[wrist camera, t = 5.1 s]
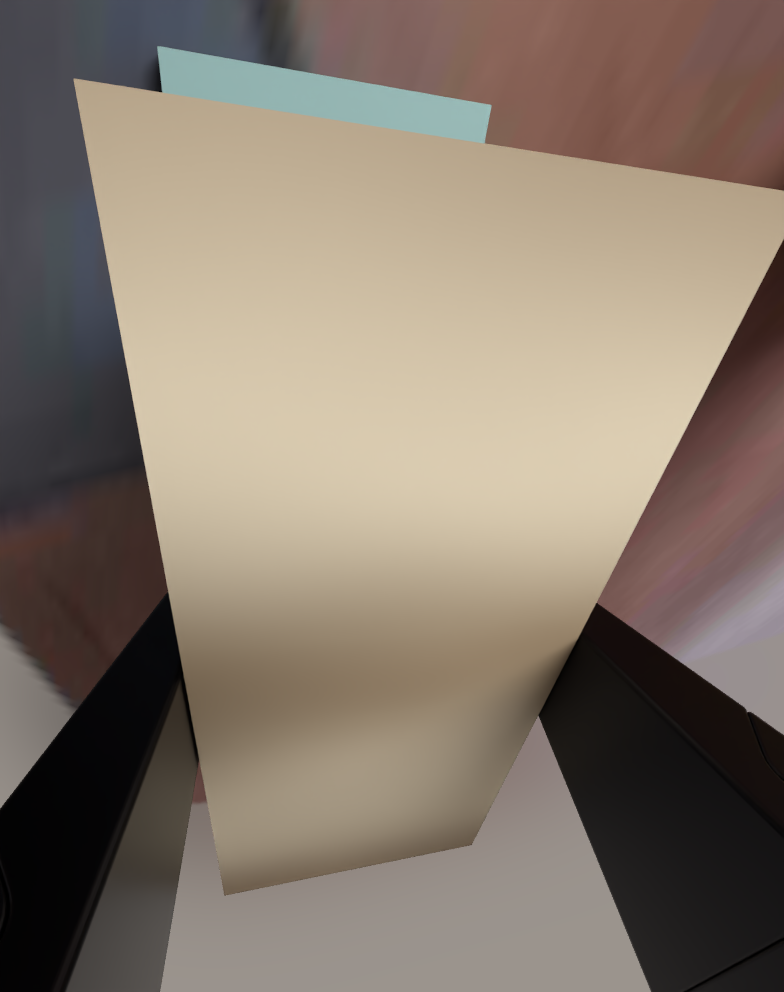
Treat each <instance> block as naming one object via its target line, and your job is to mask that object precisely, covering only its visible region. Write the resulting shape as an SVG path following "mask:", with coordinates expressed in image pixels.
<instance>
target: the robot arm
mask: <svg viewBox="0 0 784 992" xmlns="http://www.w3.org/2000/svg"><path fill="white" fill-rule="evenodd" d="M538 716H539V718H540V720H541V723H542V725H543V728H544V730H545V733H546V735H547V738H548V740H549V743H550V745H551V747H552V750H553V752H554V755H555V757H556V759H557V762H558V765H559V767H560V770H561V772H562V774H563V777H564V779H565V781H566V784H567V787H568V789H569V792H570V794H571V796H572V799H573V801H574V804H575V806H576V809H577V811H578V814H579V816H580V818H581V821H582V823H583V826H584V828H585V831H586V833H587V836H588V838H589V840H590V843H591V845H592V848H593V850H594V853H595V855H596V857H597V860H598V863H599V865H600V868H601V870H602V872H603V875H604V877H605V880H606V882H607V885H608V887H609V890H610V892H611V894H612V897H613V899H614V902H615V904H616V907H617V909H618V912H619V914H620V916H621V919H622V921H623V924H624V926H625V929H626V931H627V934H628V936H629V939H630V941H631V944H632V946H633V948H634V951H635V953H636V956H637V958H638V961H639V963H640V966H641V968H642V970H643V973H644V975H645V978H646V980H647V982H648V985H649V988H650V990H651V992H784V735H783V734H781V733H780V732H778V731H777V730H775V729H774V728H773V727H772V726H770V725H769V724H767V723H766V722H764V721H763V720H762V719H760V718H759V717H757V716H756V715H754V714H753V713H751V712H747V711H746V709H745V708H744V707H743V706H742V705H740V704H739V703H737V702H736V701H735V700H733V699H732V698H730V697H729V696H727V695H726V694H725V693H723V692H722V691H720V690H719V689H718V688H716V687H715V686H713V685H712V684H711V683H709V682H708V681H706V680H705V679H703V678H702V677H701V676H699V675H698V674H696V673H695V672H694V671H692V670H691V669H689V668H688V667H687V666H685V665H684V664H682V663H681V662H679V661H678V660H677V659H675V658H674V657H672V656H671V655H670V654H668V653H667V652H665V651H664V650H663V649H661V648H660V647H658V646H657V645H655V644H654V643H653V642H651V641H650V640H648V639H647V638H646V637H644V636H643V635H641V634H640V633H638V632H637V631H636V630H634V629H633V628H631V627H630V626H629V625H627V624H626V623H624V622H623V621H622V620H620V619H619V618H617V617H616V616H614V615H613V614H612V613H610V612H609V611H607V610H606V609H605V608H603V607H602V606H600V605H599V604H597V603H596V604H595V606H594V608H593V610H592V612H591V614H590V616H589V618H588V620H587V622H586V624H585V626H584V628H583V629H582V631H581V633H580V635H579V637H578V639H577V641H576V643H575V645H574V647H573V649H572V651H571V653H570V655H569V657H568V659H567V661H566V662H565V664H564V666H563V668H562V670H561V672H560V674H559V676H558V678H557V680H556V682H555V684H554V686H553V688H552V690H551V692H550V694H549V695H548V697H547V699H546V701H545V703H544V705H543V707H542V709H541V711H540V713H539V715H538ZM198 762H199V755H198V749H197V744H196V739H195V733H194V728H193V722H192V717H191V712H190V706H189V701H188V695H187V690H186V685H185V679H184V674H183V668H182V663H181V657H180V652H179V647H178V641H177V636H176V630H175V625H174V620H173V614H172V609H171V603H170V598H169V593H168V592H167V594H166V595H165V596H164V597H163V599H162V600H161V601H160V603H159V604H158V605H157V607H156V608H155V609H154V610H153V612H152V613H151V614H150V616H149V617H148V618H147V619H146V621H145V622H144V623H143V625H142V626H141V627H140V629H139V630H138V631H137V632H136V634H135V635H134V636H133V638H132V639H131V640H130V641H129V643H128V644H127V645H126V647H125V648H124V649H123V651H122V652H121V653H120V654H119V656H118V657H117V658H116V660H115V661H114V662H113V663H112V665H111V666H110V667H109V669H108V670H107V671H106V673H105V674H104V675H103V676H102V678H101V679H100V680H99V682H98V683H97V684H96V685H95V687H94V688H93V689H92V691H91V692H90V693H89V695H88V696H87V697H86V698H85V700H84V701H83V702H82V704H81V705H80V706H79V707H78V709H77V710H76V711H75V713H74V714H73V715H72V717H71V718H70V719H69V721H68V722H67V723H66V724H65V726H64V727H63V728H62V729H61V731H60V732H59V733H58V735H57V736H56V737H55V739H54V740H53V741H52V742H51V744H50V745H49V746H48V748H47V749H46V750H45V751H44V753H43V754H42V755H41V757H40V758H39V759H38V761H37V762H36V763H35V765H34V766H33V767H32V768H31V770H30V771H29V772H28V774H27V775H26V776H25V777H24V779H23V780H22V782H21V783H20V784H19V785H18V787H17V788H16V789H15V790H14V792H13V793H12V794H11V795H10V797H9V798H8V799H7V801H6V802H5V803H4V805H3V806H2V807H1V808H0V992H160V988H161V983H162V977H163V971H164V964H165V959H166V953H167V947H168V941H169V934H170V929H171V923H172V917H173V911H174V905H175V899H176V893H177V887H178V881H179V875H180V869H181V863H182V857H183V851H184V845H185V839H186V834H187V828H188V822H189V816H190V810H191V804H192V798H193V792H194V786H195V780H196V774H197V768H198Z"/></svg>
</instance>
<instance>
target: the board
mask: <svg viewBox="0 0 784 992" xmlns="http://www.w3.org/2000/svg"><path fill="white" fill-rule="evenodd" d="M74 84H75V89H76V95H77V100H78V106H79V111H80V116H81V122H82V127H83V133H84V138H85V143H86V149H87V154H88V160H89V165H90V171H91V176H92V181H93V187H94V192H95V198H96V203H97V208H98V214H99V219H100V225H101V230H102V235H103V241H104V246H105V252H106V257H107V262H108V268H109V273H110V279H111V284H112V290H113V295H114V300H115V306H116V311H117V317H118V322H119V327H120V333H121V338H122V344H123V349H124V354H125V360H126V365H127V371H128V376H129V382H130V387H131V392H132V398H133V403H134V409H135V414H136V419H137V425H138V430H139V436H140V441H141V446H142V452H143V457H144V463H145V468H146V474H147V479H148V484H149V490H150V495H151V501H152V506H153V511H154V517H155V522H156V528H157V533H158V538H159V544H160V549H161V555H162V560H163V565H164V571H165V576H166V582H167V587H168V593H169V598H170V603H171V609H172V614H173V620H174V625H175V630H176V636H177V641H178V647H179V652H180V657H181V663H182V668H183V674H184V679H185V685H186V690H187V695H188V701H189V706H190V712H191V717H192V722H193V728H194V733H195V739H196V744H197V749H198V755H199V760H200V766H201V771H202V776H203V782H204V787H205V793H206V798H207V804H208V809H209V814H210V820H211V825H212V831H213V836H214V841H215V847H216V852H217V857H218V863H219V868H220V873H221V879H222V885H223V890H224V895H229V894H235V893H240V892H244V891H249V890H254V889H259V888H264V887H269V886H274V885H278V884H283V883H288V882H293V881H298V880H303V879H308V878H312V877H318V876H323V875H327V874H332V873H337V872H342V871H347V870H352V869H356V868H362V867H366V866H371V865H376V864H381V863H385V862H391V861H396V860H401V859H405V858H410V857H415V856H420V855H425V854H429V853H435V852H440V851H445V850H449V849H454V848H459V847H464V846H469V845H472V843H473V841H474V839H475V837H476V835H477V833H478V831H479V829H480V828H481V825H482V823H483V822H484V820H485V818H486V816H487V814H488V812H489V810H490V808H491V806H492V804H493V802H494V800H495V798H496V796H497V794H498V793H499V790H500V788H501V787H502V785H503V783H504V781H505V779H506V777H507V775H508V773H509V771H510V769H511V767H512V765H513V763H514V761H515V759H516V758H517V756H518V753H519V752H520V750H521V748H522V746H523V744H524V742H525V740H526V738H527V736H528V734H529V732H530V730H531V728H532V727H533V724H534V723H535V721H536V719H537V717H538V715H539V713H540V711H541V709H542V707H543V705H544V703H545V701H546V699H547V697H548V695H549V694H550V692H551V690H552V688H553V686H554V684H555V682H556V680H557V678H558V676H559V674H560V672H561V670H562V668H563V666H564V664H565V662H566V661H567V659H568V657H569V655H570V653H571V651H572V649H573V647H574V645H575V643H576V641H577V639H578V637H579V635H580V633H581V631H582V629H583V628H584V626H585V624H586V622H587V620H588V618H589V616H590V614H591V612H592V610H593V608H594V606H595V604H596V602H597V600H598V598H599V596H600V595H601V593H602V591H603V589H604V587H605V585H606V583H607V581H608V579H609V577H610V575H611V573H612V571H613V569H614V567H615V565H616V563H617V562H618V560H619V558H620V556H621V554H622V552H623V550H624V548H625V546H626V544H627V542H628V540H629V538H630V536H631V534H632V532H633V530H634V529H635V527H636V525H637V523H638V521H639V519H640V517H641V515H642V513H643V511H644V509H645V507H646V505H647V503H648V501H649V499H650V497H651V496H652V494H653V492H654V490H655V488H656V486H657V484H658V482H659V480H660V478H661V476H662V474H663V472H664V470H665V468H666V466H667V464H668V463H669V461H670V459H671V457H672V455H673V453H674V451H675V449H676V447H677V445H678V443H679V441H680V439H681V437H682V435H683V433H684V431H685V430H686V428H687V426H688V424H689V422H690V420H691V418H692V416H693V414H694V412H695V410H696V408H697V406H698V404H699V402H700V400H701V398H702V397H703V395H704V393H705V391H706V389H707V387H708V385H709V383H710V381H711V379H712V377H713V375H714V373H715V371H716V369H717V367H718V365H719V364H720V362H721V360H722V358H723V356H724V354H725V352H726V350H727V348H728V346H729V344H730V342H731V340H732V338H733V336H734V334H735V332H736V331H737V329H738V327H739V325H740V323H741V321H742V319H743V317H744V315H745V313H746V311H747V309H748V307H749V305H750V303H751V301H752V299H753V298H754V296H755V294H756V292H757V290H758V288H759V286H760V284H761V282H762V280H763V278H764V276H765V274H766V272H767V270H768V268H769V266H770V265H771V263H772V261H773V259H774V257H775V255H776V253H777V251H778V249H779V247H780V245H781V243H782V241H783V239H784V191H782V190H775V189H769V188H763V187H756V186H750V185H744V184H737V183H731V182H725V181H718V180H712V179H706V178H699V177H693V176H687V175H680V174H674V173H668V172H661V171H655V170H649V169H642V168H636V167H630V166H624V165H617V164H611V163H605V162H598V161H592V160H586V159H579V158H573V157H567V156H560V155H554V154H548V153H541V152H535V151H529V150H522V149H516V148H510V147H503V146H497V145H491V144H484V143H478V142H472V141H465V140H459V139H453V138H446V137H440V136H434V135H427V134H421V133H415V132H408V131H402V130H396V129H389V128H383V127H377V126H370V125H364V124H358V123H352V122H345V121H339V120H333V119H326V118H320V117H314V116H307V115H301V114H295V113H288V112H282V111H276V110H269V109H263V108H257V107H250V106H244V105H238V104H231V103H225V102H219V101H212V100H206V99H200V98H193V97H187V96H181V95H174V94H168V93H162V92H155V91H149V90H143V89H136V88H130V87H124V86H117V85H111V84H105V83H98V82H92V81H86V80H80V79H74Z"/></svg>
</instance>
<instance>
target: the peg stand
mask: <svg viewBox="0 0 784 992" xmlns="http://www.w3.org/2000/svg"><path fill="white" fill-rule="evenodd" d="M157 48H158V58H159V67H160V76H161V85H162V93H168V94H174V95H181V96H187V97H193V98H200V99H206V100H212V101H219V102H225V103H231V104H238V105H244V106H250V107H257V108H263V109H269V110H276V111H282V112H288V113H295V114H301V115H307V116H314V117H320V118H326V119H333V120H339V121H345V122H352V123H358V124H364V125H370V126H377V127H383V128H389V129H396V130H402V131H408V132H415V133H421V134H427V135H434V136H440V137H446V138H453V139H459V140H465V141H472V142H478V143H485V137H486V132H487V127H488V121H489V116H490V111H491V105H487V104H482V103H476V102H470V101H465V100H459V99H453V98H448V97H442V96H436V95H431V94H425V93H419V92H414V91H408V90H403V89H397V88H391V87H386V86H380V85H374V84H369V83H363V82H357V81H352V80H346V79H341V78H335V77H329V76H324V75H318V74H312V73H307V72H301V71H295V70H290V69H284V68H278V67H273V66H267V65H262V64H256V63H250V62H245V61H239V60H233V59H228V58H222V57H216V56H211V55H205V54H200V53H194V52H188V51H183V50H177V49H171V48H166V47H160V46H157Z"/></svg>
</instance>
